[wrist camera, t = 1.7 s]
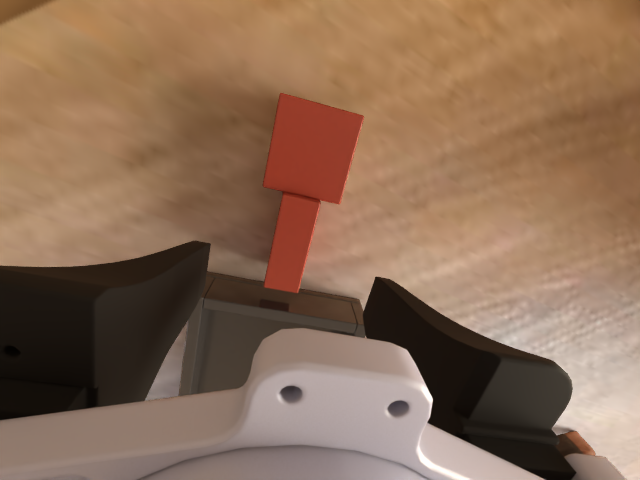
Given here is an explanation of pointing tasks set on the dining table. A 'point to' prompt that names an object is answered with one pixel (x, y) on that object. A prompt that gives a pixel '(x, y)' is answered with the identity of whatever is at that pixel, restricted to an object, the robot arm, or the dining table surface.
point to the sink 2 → (252, 327)
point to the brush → (305, 178)
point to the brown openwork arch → (573, 444)
